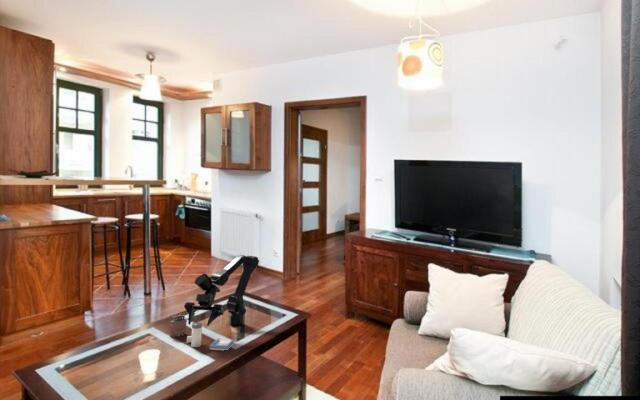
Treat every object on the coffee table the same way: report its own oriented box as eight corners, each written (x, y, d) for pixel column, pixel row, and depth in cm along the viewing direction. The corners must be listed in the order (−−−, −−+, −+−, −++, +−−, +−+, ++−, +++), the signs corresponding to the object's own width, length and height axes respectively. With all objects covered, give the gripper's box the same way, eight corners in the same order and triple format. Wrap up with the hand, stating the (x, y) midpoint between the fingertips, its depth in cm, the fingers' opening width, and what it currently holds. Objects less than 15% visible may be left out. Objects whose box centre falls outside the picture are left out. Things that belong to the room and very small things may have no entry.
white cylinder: (199, 342, 168) (200, 321, 168) (202, 346, 164) (202, 324, 164) (190, 344, 165) (191, 323, 166) (192, 347, 162) (193, 325, 162)
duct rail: (199, 339, 172) (199, 334, 172) (200, 340, 170) (200, 335, 170) (186, 341, 168) (186, 336, 168) (187, 342, 167) (187, 337, 167)
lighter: (184, 332, 181) (185, 312, 181) (187, 334, 178) (188, 314, 178) (168, 336, 175) (169, 315, 175) (171, 338, 173) (172, 317, 173)
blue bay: (217, 341, 170) (217, 338, 170) (234, 343, 169) (234, 339, 169) (209, 349, 161) (209, 345, 161) (227, 350, 160) (227, 346, 160)
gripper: (186, 285, 173) (173, 314, 162) (223, 288, 171) (212, 317, 160) (193, 297, 181) (181, 326, 170) (228, 300, 179) (218, 329, 168)
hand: (198, 324), depth 167 cm, fingers open, 9 cm apart
